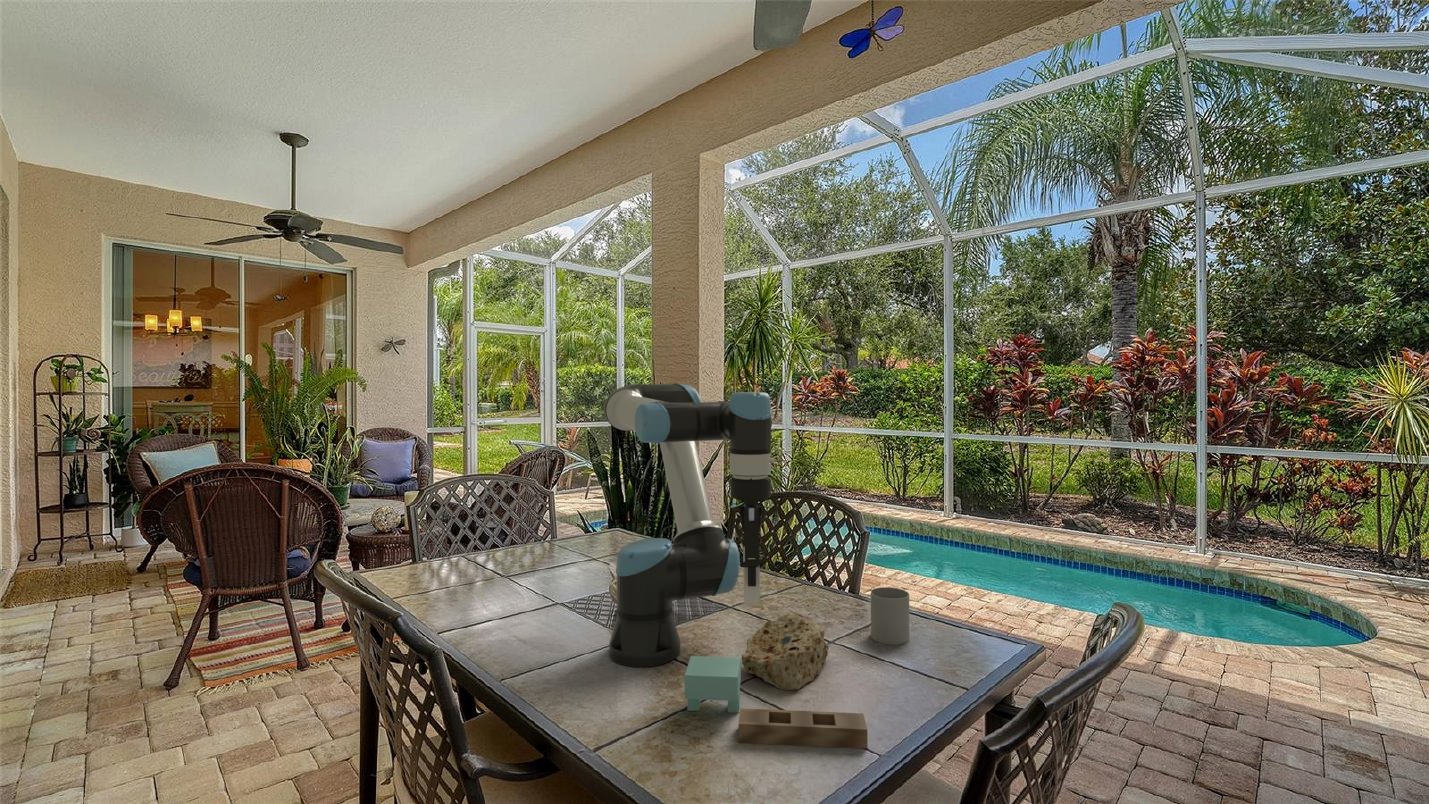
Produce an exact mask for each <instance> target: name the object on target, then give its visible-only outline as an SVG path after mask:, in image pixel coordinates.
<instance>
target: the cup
mask: <svg viewBox="0 0 1429 804" xmlns="http://www.w3.org/2000/svg"><path fill="white" fill-rule="evenodd" d="M870 638H871V639H872V640H874V641H875V642H878V643H880V644H885V645H903V644H907V643H908V642H910V593H909V592H908V591H906V590H904V589H901V588H897V587H890V586H889V587H887V586H885V587H882V586H881V587H875V588H873V589H871V590H870Z"/></svg>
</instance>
